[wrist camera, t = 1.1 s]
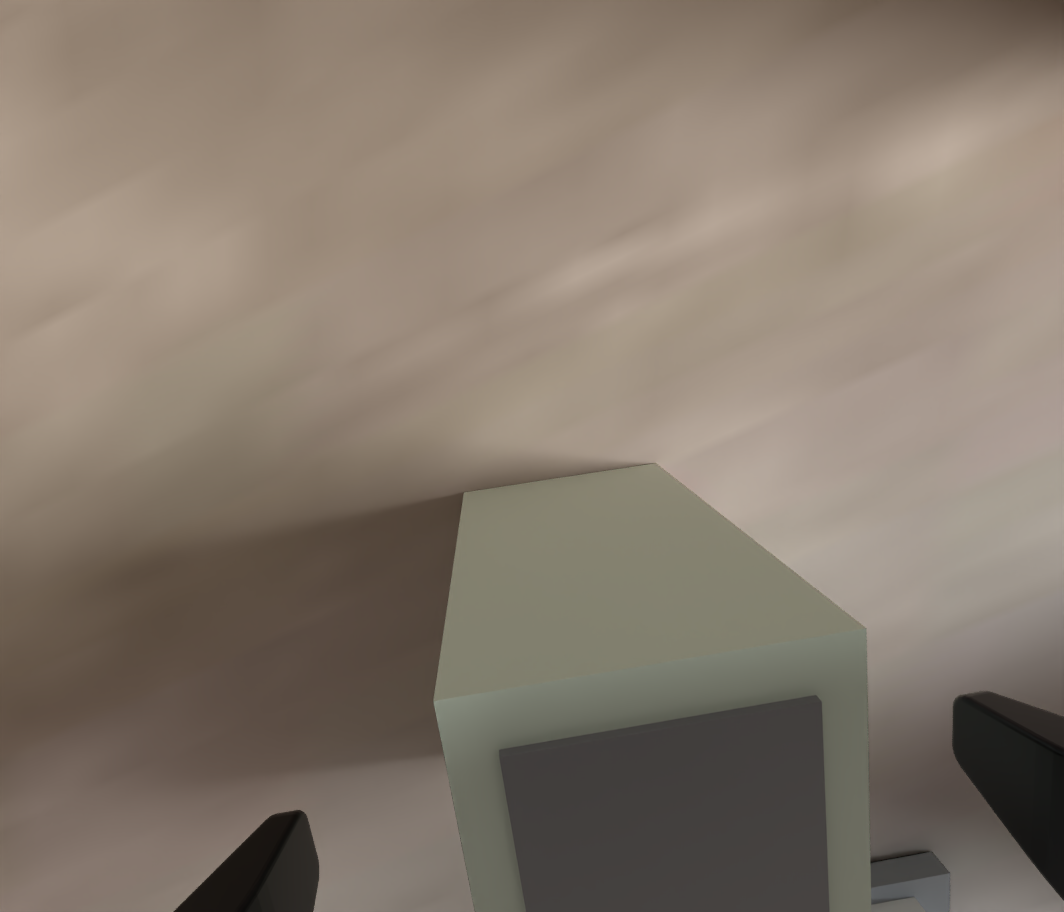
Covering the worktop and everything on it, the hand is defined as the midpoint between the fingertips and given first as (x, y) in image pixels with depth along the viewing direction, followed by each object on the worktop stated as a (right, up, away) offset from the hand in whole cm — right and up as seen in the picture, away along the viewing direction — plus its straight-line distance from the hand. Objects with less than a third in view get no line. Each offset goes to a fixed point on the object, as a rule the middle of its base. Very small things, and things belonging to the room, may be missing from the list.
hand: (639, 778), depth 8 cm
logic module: (0, +1, +5) cm, 5 cm away
